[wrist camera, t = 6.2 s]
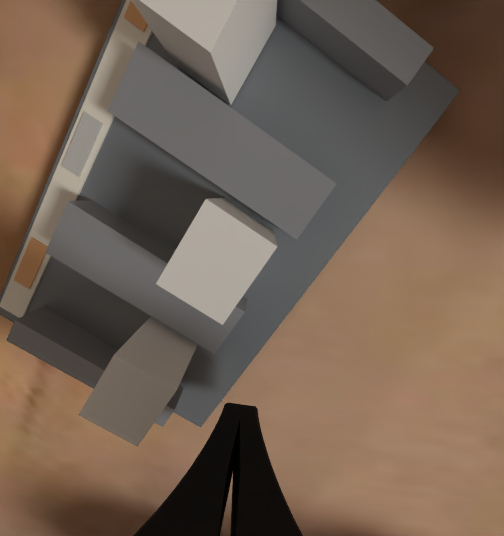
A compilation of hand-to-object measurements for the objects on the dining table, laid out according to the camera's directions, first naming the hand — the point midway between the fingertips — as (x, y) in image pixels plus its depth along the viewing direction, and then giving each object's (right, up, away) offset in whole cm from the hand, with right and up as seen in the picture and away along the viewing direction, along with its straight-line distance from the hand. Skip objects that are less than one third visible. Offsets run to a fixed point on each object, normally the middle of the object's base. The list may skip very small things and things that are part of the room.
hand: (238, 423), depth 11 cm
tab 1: (-4, +3, +2) cm, 5 cm away
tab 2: (0, +15, -2) cm, 15 cm away
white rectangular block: (0, +8, 0) cm, 8 cm away
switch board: (-2, +9, +1) cm, 9 cm away
